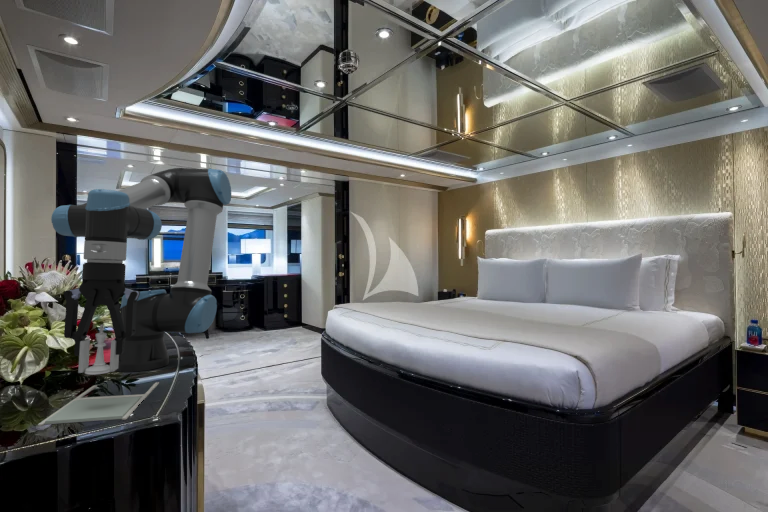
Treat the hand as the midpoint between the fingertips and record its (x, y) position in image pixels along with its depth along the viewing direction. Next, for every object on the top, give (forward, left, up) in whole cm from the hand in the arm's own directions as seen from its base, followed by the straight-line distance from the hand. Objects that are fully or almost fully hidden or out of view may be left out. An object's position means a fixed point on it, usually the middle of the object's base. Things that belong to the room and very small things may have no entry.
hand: (98, 370), depth 83 cm
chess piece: (0, 0, -1) cm, 1 cm away
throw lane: (-6, 0, -9) cm, 11 cm away
